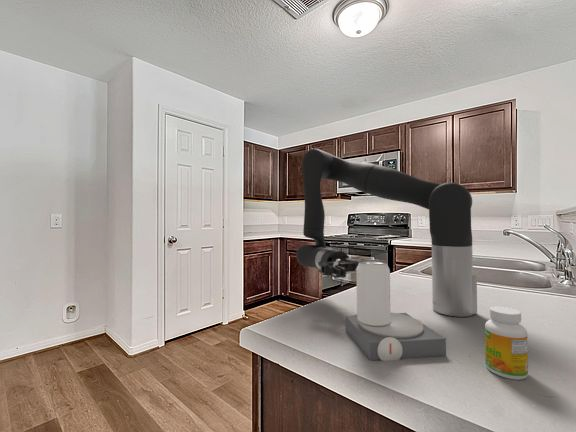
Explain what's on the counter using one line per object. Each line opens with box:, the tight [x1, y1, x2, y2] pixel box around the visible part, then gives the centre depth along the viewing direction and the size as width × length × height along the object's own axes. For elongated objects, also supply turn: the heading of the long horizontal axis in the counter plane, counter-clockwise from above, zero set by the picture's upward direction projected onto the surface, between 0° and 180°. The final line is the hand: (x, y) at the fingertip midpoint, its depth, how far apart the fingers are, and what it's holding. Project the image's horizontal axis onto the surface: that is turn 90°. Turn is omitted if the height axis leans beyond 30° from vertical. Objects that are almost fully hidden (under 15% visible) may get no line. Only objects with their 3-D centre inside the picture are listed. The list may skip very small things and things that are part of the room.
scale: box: [345, 312, 447, 362], centre depth 57 cm, size 14×15×4 cm
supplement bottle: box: [484, 305, 529, 381], centre depth 46 cm, size 5×5×10 cm
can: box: [355, 259, 392, 327], centre depth 58 cm, size 6×6×12 cm
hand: (360, 272), depth 68 cm, fingers open, 8 cm apart
